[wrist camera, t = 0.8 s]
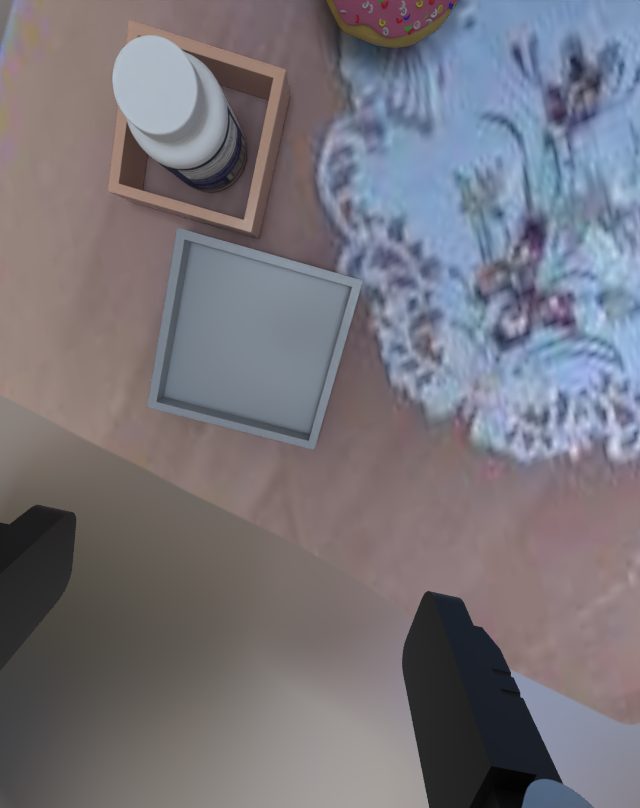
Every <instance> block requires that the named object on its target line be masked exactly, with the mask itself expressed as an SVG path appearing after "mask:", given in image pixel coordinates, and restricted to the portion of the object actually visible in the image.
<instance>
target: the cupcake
mask: <svg viewBox="0 0 640 808" xmlns="http://www.w3.org/2000/svg"><path fill="white" fill-rule="evenodd" d="M326 2H327V4H328V6H329V8H330V10H331V12H332V14H333V16H334V18H335V20H336V22H337V24H338V25H339V27H340V28H341V30H342V31H343V32H344V33H346V34H348V35H351V36H354V37H356V38H359V39H361V40H363V41H366V42H368V43H370V44H372V45H375V46H382V47H390V48H401V47H407V46H411V45H414V44H416V43H417V42H419V41H420V40H422V39H423V38H425V37H427V36H428V35H430V34H432V33H434V32H435V31H436V30H438V29H439V28H440V26H441V25H442V24H443V23H444V21H445V20H446V18H447V17H448V16H449V14H450V13H451V12H452V10H453V9H454V7H455V5H456V4H457V2H458V0H326Z"/></svg>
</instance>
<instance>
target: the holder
mask: <svg viewBox="0 0 640 808" xmlns="http://www.w3.org/2000/svg"><path fill="white" fill-rule="evenodd" d="M146 35H156V36H160V37H163V38H166V39H168V40H170V41H172V42H173V43H175V44H176V45H177V46H178V47H179V48H180V49H181V50H182V51H183V52H186V53H188V54H190V55H192V56H194V57H196V58H197V59H199V60H200V61H201V62H202V63H203V64H205V65H206V66H207V68H208V69H209V70H210V71H211V72H212V73H213V75H214V77H215V78H216V80H217V81H218V83H219V85H222V86H226V87H229V88H232V89H235V90H238V91H242V92H245V93H248V94H251V95H255V96H258V97H261V98H264V99H267V100H269V102H268V106H267V111H266V116H265V121H264V126H263V131H262V136H261V140H260V145H259V150H258V155H257V160H256V165H255V169H254V174H253V179H252V184H251V189H250V194H249V198H248V203H247V208H246V213H245V218H244V220H242V219H239V218H235V217H232V216H228V215H225V214H222V213H218V212H215V211H211V210H208V209H204V208H201V207H197V206H194V205H191V204H187V203H184V202H180V201H177V200H173V199H170V198H166V197H163V196H160V195H156V194H153V193H149V192H146V191H143V184H144V177H145V170H146V163H147V156H148V154H147V153H146V152H145V151H144V150H143V149H142V148H141V146H140V145H139V144H138V142H137V141H136V139H135V138H134V136H133V134H132V133H131V130H130V128H129V126H128V123H127V120H126V117H125V115H124V114H123V113H122V111H121V109H120V108H119V106H118V112H117V121H116V129H115V137H114V145H113V153H112V161H111V169H110V177H109V185H108V191H109V192H111V193H113V194H115V195H118V196H120V197H122V198H124V199H126V200H129V201H131V202H134V203H137V204H140V205H144V206H147V207H151V208H154V209H158V210H161V211H165V212H168V213H172V214H175V215H179V216H182V217H186V218H189V219H193V220H196V221H200V222H203V223H206V224H210V225H213V226H217V227H220V228H224V229H227V230H231V231H234V232H238V233H241V234H245V235H248V236H252V237H255V238H259V236H260V232H261V227H262V222H263V218H264V213H265V209H266V204H267V199H268V195H269V190H270V186H271V181H272V176H273V172H274V167H275V163H276V158H277V154H278V149H279V144H280V140H281V135H282V131H283V126H284V121H285V117H286V112H287V108H288V103H289V99H290V92H289V86H288V80H287V74H286V69H283V68H280V67H277V66H274V65H270V64H267V63H264V62H261V61H258V60H255V59H252V58H248V57H245V56H242V55H239V54H236V53H233V52H229V51H226V50H223V49H220V48H217V47H214V46H211V45H207V44H204V43H201V42H198V41H195V40H192V39H189V38H185V37H182V36H179V35H176V34H173V33H170V32H166V31H163V30H160V29H157V28H154V27H151V26H148V25H144V24H141V23H138V22H135V21H132V20H129V24H128V32H127V40H126V45H127V44H128V43H129V42H130V41H132V40H133V39H135V38H138V37H141V36H146Z"/></svg>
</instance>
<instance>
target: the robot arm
mask: <svg viewBox="0 0 640 808" xmlns="http://www.w3.org/2000/svg"><path fill="white" fill-rule="evenodd" d="M75 529H76V516H75V514H74V513H73V512H69V511H64V510H60V509H55V508H50V507H45V506H41V505H35V506H33V507H31V508H30V509H29V510H27V511H26V512H25V513H24V514H22V515H21V516H20V517H18V518H17V519H16V520H15V521H13V522H12V523H11V524H4V523H0V670H1V669H2V668H3V667H4V666H5V664H6V663H7V662H8V661H9V660H10V658H11V657H12V656H13V655H14V654H15V652H16V651H17V650H18V649H19V647H20V646H21V645H22V644H23V643H24V641H25V640H26V639H27V638H28V637H29V635H30V634H31V633H32V632H33V631H34V629H35V628H36V627H37V626H38V624H39V623H40V622H41V621H42V620H43V618H44V617H45V616H46V615H47V613H48V612H49V611H50V610H51V609H52V608H53V606H54V605H55V604H56V603H57V601H58V600H59V599H60V597H61V596H62V594H63V592H64V591H65V589H66V586H67V584H68V582H69V579H70V575H71V572H72V563H73V552H74V540H75ZM402 668H403V675H404V680H405V685H406V690H407V696H408V701H409V706H410V711H411V716H412V721H413V727H414V732H415V737H416V741H417V747H418V752H419V757H420V762H421V768H422V772H423V777H424V783H425V788H426V793H427V798H428V803H429V808H594V807H593V806H592V805H591V804H590V803H589V802H588V801H587V800H585V799H584V798H583V797H582V796H581V795H579V794H578V793H577V792H575V791H574V790H572V789H571V788H569V787H567V786H566V785H564V784H563V783H562V780H561V778H560V776H559V774H558V772H557V770H556V768H555V766H554V763H553V761H552V759H551V757H550V755H549V753H548V751H547V749H546V746H545V744H544V742H543V740H542V738H541V736H540V734H539V731H538V730H537V727H536V725H535V723H534V721H533V719H532V717H531V714H530V712H529V710H528V708H527V706H526V704H525V701H524V699H523V698H521V697H520V691H519V689H518V687H517V684H516V682H515V680H514V678H513V677H511V672H510V669H509V667H508V665H507V663H506V661H505V659H504V657H503V654H502V652H501V650H500V648H499V647H498V646H497V645H496V644H495V642H494V641H493V640H492V639H491V638H490V636H489V635H488V634H487V633H486V632H485V631H484V629H483V628H482V627H478V626H474V625H473V623H472V621H471V618H470V616H469V614H468V611H467V609H466V606H465V604H464V602H463V601H462V599H460V598H458V597H453V596H448V595H444V594H439V593H435V592H430V591H427V592H426V593H425V594H424V595H423V597H422V600H421V602H420V605H419V607H418V610H417V612H416V615H415V618H414V620H413V623H412V625H411V628H410V630H409V633H408V636H407V638H406V641H405V644H404V649H403V658H402Z"/></svg>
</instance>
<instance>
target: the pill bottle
mask: <svg viewBox="0 0 640 808" xmlns="http://www.w3.org/2000/svg"><path fill="white" fill-rule="evenodd" d="M112 83H113V90H114V95H115V98H116V101H117V103H118V106H119V108H120V109H121V111H122V113H123V114H124V115H125V117H126V120H127V123H128V126H129V128H130V130H131V133H132V134H133V136H134V138H135V139H136V141H137V142H138V144H139V145H140V146H141V148H142V149H143V150H144V151H145V152H146V153H147V154H148V155H149V156H150V157H152V158H153V159H154V160H155V161H157V162H158V163H159V164H161V165H162V166H163V167H165V168H166V169H167V170H169V171H170V172H172V173H173V174H174V175H176V176H177V177H178V178H180V179H181V180H182V181H184V182H185V183H186V184H188V185H190V186H191V187H193V188H195V189H198V190H201V191H206V192H214V191H220V190H223V189H225V188H227V187H229V186H230V185H232V184H233V183H234V182H235V181H236V180H237V179H238V177H239V176H240V174H241V173H242V171H243V168H244V166H245V162H246V157H247V146H246V140H245V136H244V133H243V130H242V128H241V126H240V124H239V122H238V120H237V118H236V116H235V114H234V112H233V110H232V108H231V106H230V104H229V103H228V101H227V99H226V97H225V95H224V93H223V91H222V88H221V87H220V85H219V83H218V81H217V80H216V78H215V77H214V75H213V73H212V72H211V71H210V70H209V69H208V68H207V66H206V65H205V64H203V63H202V62H201V61H200V60H199V59H197V58H196V57H194V56H192V55H190V54H188V53H186V52H183V51H182V50H181V49H180V48H179V47H178V46H177V45H176V44H175V43H173V42H172V41H170V40H168V39H166V38H163V37H160V36H156V35H146V36H141V37H138V38H135V39H133V40H132V41H130V42H129V43H128V44H127V45H125V46H124V48H123V49H122V50H121V52H120V53H119V55H118V57H117V59H116V61H115V65H114V69H113V77H112Z"/></svg>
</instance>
